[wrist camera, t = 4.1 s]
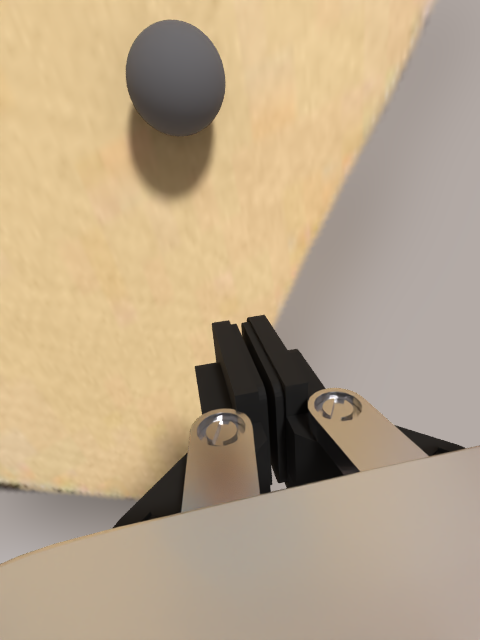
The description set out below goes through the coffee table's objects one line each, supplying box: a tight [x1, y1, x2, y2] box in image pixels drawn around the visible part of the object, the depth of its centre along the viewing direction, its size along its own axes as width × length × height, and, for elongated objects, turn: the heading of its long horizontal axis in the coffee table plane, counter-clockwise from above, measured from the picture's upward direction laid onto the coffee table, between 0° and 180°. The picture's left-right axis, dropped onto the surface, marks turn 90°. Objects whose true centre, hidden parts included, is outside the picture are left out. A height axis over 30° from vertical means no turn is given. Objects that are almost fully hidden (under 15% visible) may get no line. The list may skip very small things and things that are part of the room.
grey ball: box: [126, 20, 225, 136], centre depth 19 cm, size 5×5×5 cm
